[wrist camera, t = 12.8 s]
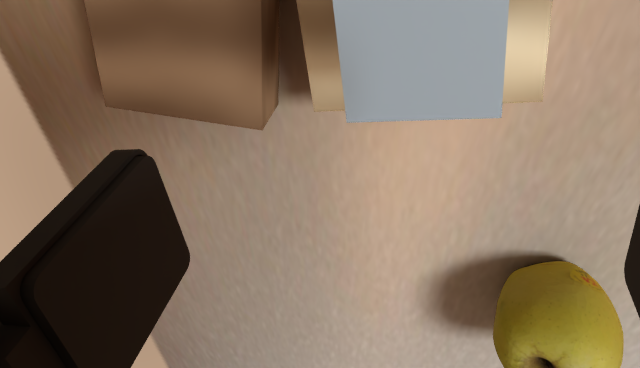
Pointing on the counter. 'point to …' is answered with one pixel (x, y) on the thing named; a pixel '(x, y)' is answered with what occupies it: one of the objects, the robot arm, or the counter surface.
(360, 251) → the counter surface
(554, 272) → the apple
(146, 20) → the walnut plinth
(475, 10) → the grey block
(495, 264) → the counter surface
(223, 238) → the counter surface
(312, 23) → the maple plinth
